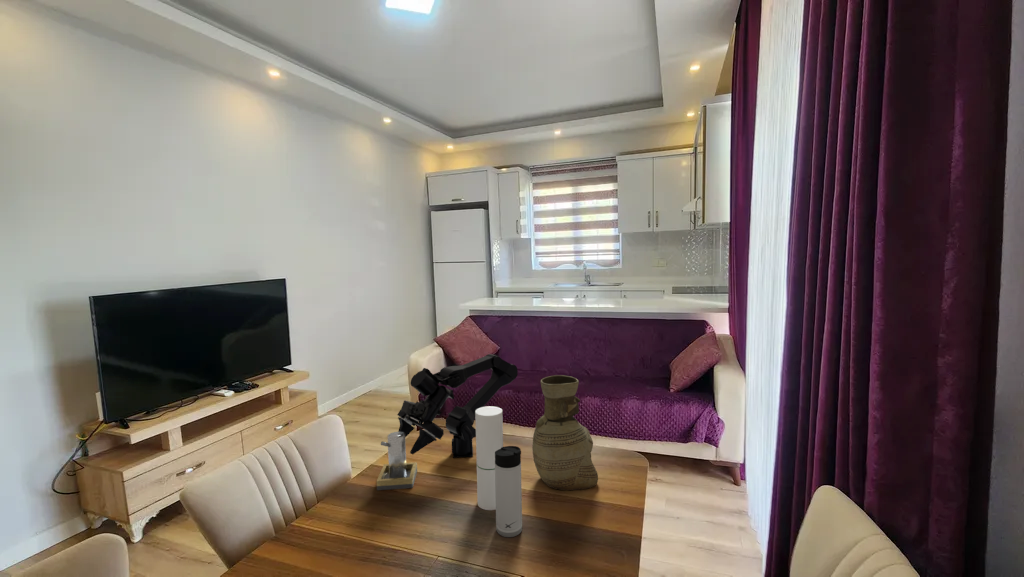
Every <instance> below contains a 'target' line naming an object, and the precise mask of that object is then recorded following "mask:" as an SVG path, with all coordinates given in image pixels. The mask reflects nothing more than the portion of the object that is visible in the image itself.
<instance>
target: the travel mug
mask: <svg viewBox="0 0 1024 577" xmlns="http://www.w3.org/2000/svg"><path fill="white" fill-rule="evenodd" d="M521 458H522V450H521V447H519V446H515V445H505V446H503V447H502V448H501V449H499V450H497V451H495V495H496V509H495V524H496V525H495V530H496V532H497V534H498V535H500V536H502V537H505V538H513V537H516V536H518V535H519V534H521V532H522V531H523V505H522V504H523V502H522V501H523V498H522V495H523V494H522V491H523V490H522V459H521Z"/></svg>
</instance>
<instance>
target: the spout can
mask: <svg viewBox="0 0 1024 577" xmlns="http://www.w3.org/2000/svg"><path fill="white" fill-rule="evenodd" d="M380 445H381V446H384V447H387V456H388V464H389V478H405V477H406V476H407V470H406V463H407V450H406V449H407V448H406V447H407V446H406V445H407V444H406V437H405V433H404V432H398V431H394V432H390V433H388V434H387V442H386V441H381V442H380Z"/></svg>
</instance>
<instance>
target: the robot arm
mask: <svg viewBox="0 0 1024 577" xmlns="http://www.w3.org/2000/svg"><path fill="white" fill-rule="evenodd" d="M489 369H490V370H492V371H491V375H490V378H489V379H488V381H487V382H486V383H485V384H484V385H483V386H482V387H480V389H479V390H478V391H477V392H476V393H475V394H474V395H473V396H472V397H471V398H470V399H469V401H468V402H467V403H466V404H465V405H464V406H462V407H461V406H459V405H456V406H454V408H453V409H452V410H451V411H450V412H448V413H447V417H446V419H445V427H446V429H447V430H448V433H449V434H450V435H453V436H452V437H453V438H451V454H453V455H452V456H453V458H454V459H455V458H456V459H457V458H471V457H473V456H474V447H473V439H474V438H476V427H474V423H475V420H476V419H475V411H476V410H477V409H478V408H481V407H486V405H487V404H488V402H489V401H490V400H491V399H492V398H493V397H494V396H495V395H496V393H497V392H498V391H499V390H500V389H501V388H502V387H505V386H506V385H509V384H510V383H512V382H513V381H515V379H516V378H517V377H518V374H519V372H518V367H517V365H515V364H512V363H510V362H508V361H506V360H504V359H503V358H502V357H500V356H499V355H496V354H493V353H492V354H491V353H488V354H486V355H485V356H482V357H480V358H478V359H474V360H472V361H469V362H467V363H464V364H462V365H452V366H451V365H450V366H445V367H442V368H441V369H440V371H438V372H436V373H432V372H431V371H430V370H429V369H428V368H426V367H423V368H422V370H420V371H417V373H415V374H414V375H413V376H412V378H411V380H410V385H411V387H412V388H414V390H416V391H417V392H419V393H420V394H421V395H422V396H424V397H426V398H425V399H424V400H423V399H421V400H419V401H416V402H414V401H409V400H403V402H402V404H401V408H400V410H399V411H398V413H397V414H396V415H397V416H398V417H397V419H398V422H399V428H398V431H397V432H404V433H405V438H407V436H409V434H410V433H412V432H413V431H414V430H415V426H418V427H419V430H418V431H419V432H418V433H419V434H418V436H417V438H416V441H415V442H414V444H413V446H412V447H411V449H410V451H409V453H410V454H411V455H415V454H416V453H417V452H419V451H421V450H422V449H424V447H426V446H428V445H430V444H431V443H434V442H437V441H438V440H442V439H443V436H444V435H445V433H444V432H445V431H444V429H443V428H442V427H440V426H439V425H437V424H436V423H434V422H433V421H434V420H435V418H436V417H437V415H438V416H440V415H442V411H440V410H441V409H442V407H443V406H444V404H445V402H446V401H447V400H448V399H449V398H450V399H451V400H453V399H455V395H454V390H453V389H456V388H458V387H460V386H462V385H463V384H464V383H466V381H467V380H468V379H469V378H471V377H473V376H475V375H478V374H480V373H482V372H485V371H487V370H489ZM447 387H448V388H447ZM451 388H453V389H451Z"/></svg>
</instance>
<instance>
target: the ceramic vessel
mask: <svg viewBox="0 0 1024 577" xmlns="http://www.w3.org/2000/svg"><path fill="white" fill-rule="evenodd" d="M579 383H580V381H579V379H577V377H573V376H569V375H561V374H560V375H557V374H555V375H550V376H545V377H543V378H542V379H540V386H541V387H540V388H541V391H542V394H543V397H544V413H543V415H541V417H539V419H538V420H537V421H536V423H535V428H534V431H533V435H532V436H533V437H532V444H531V445H532V450H531V451H532V457H533V461H534V465H535V469H536V472H537V473H538V475H539V477H540V478H541V480H542V481H543V483H544V484H545V485H546V486H547V487H549V488H552V489H555V490H559V491H561V490H562V491H576V490H586V489H590V488H592V487H594V486H596V485H597V484H598V482H599V474H598V472H597V469H596V466H595V464H594V463H593V460H592V451H593V449H594V441H593V438H592V436H591V433H590V430H589V429H588V428H587V427H585V426H584V425H582V424H581V423H580V422H579V421H578V420H577V419H576V418H575V417H574V416H576V415H579V413H580V410H579V409H580V408H579V407H580V405H579V402H581V399H580V398H578V397H577V396H576V394H577V391H578V388H579V385H580V384H579Z"/></svg>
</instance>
